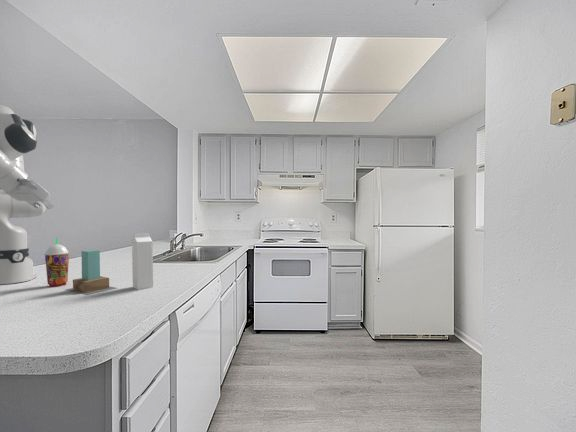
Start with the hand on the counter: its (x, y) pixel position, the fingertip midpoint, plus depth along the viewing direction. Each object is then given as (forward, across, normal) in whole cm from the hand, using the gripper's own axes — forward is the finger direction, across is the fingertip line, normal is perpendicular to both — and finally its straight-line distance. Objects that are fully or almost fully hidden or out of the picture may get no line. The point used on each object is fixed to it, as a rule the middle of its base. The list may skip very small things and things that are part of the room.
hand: (44, 207), depth 124 cm
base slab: (+31, -9, +14) cm, 35 cm away
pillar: (+28, -9, +11) cm, 32 cm away
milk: (+39, -24, +6) cm, 47 cm away
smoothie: (+30, +10, +17) cm, 36 cm away
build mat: (+31, -9, +15) cm, 36 cm away
